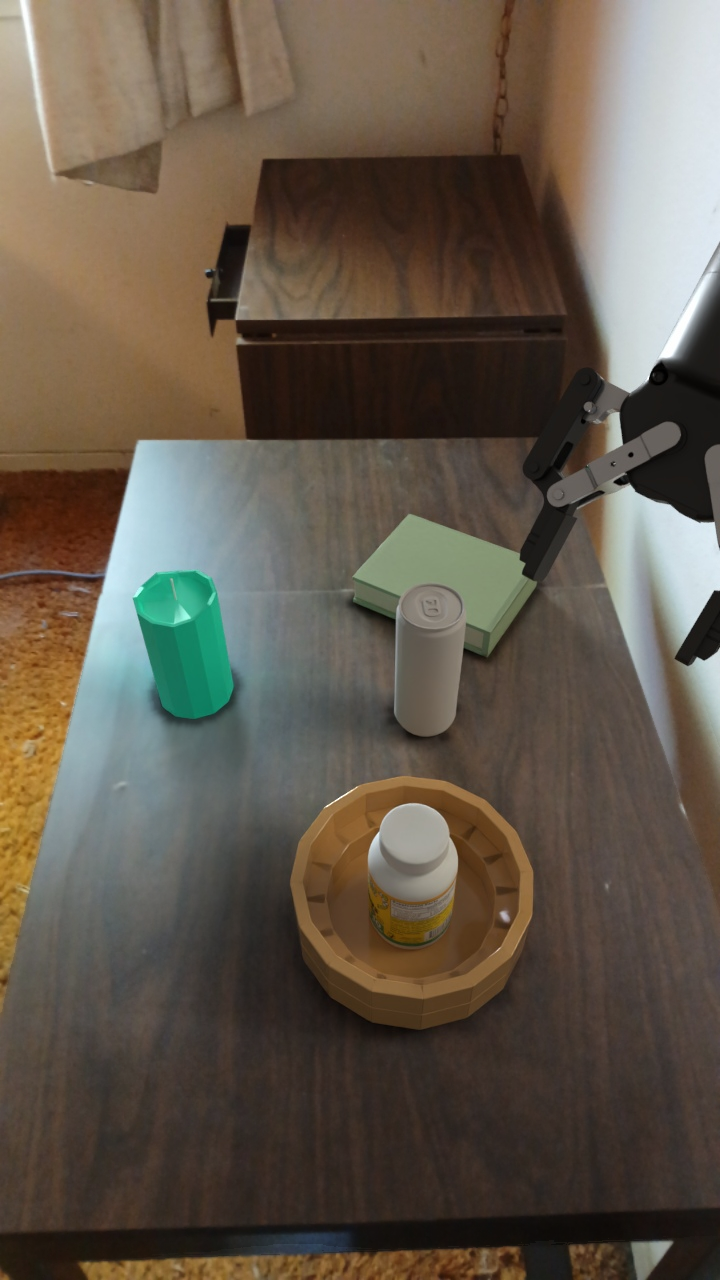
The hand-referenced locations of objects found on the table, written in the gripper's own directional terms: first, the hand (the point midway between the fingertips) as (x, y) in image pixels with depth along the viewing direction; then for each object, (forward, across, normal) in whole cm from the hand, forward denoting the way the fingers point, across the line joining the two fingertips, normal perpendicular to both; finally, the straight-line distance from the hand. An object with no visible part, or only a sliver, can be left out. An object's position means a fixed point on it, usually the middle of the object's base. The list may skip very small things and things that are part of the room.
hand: (605, 618), depth 44 cm
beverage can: (+16, -12, +18) cm, 27 cm away
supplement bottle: (+24, -3, +7) cm, 25 cm away
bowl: (+24, -3, +7) cm, 25 cm away
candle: (+22, -28, +12) cm, 37 cm away
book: (+8, -18, +28) cm, 35 cm away
